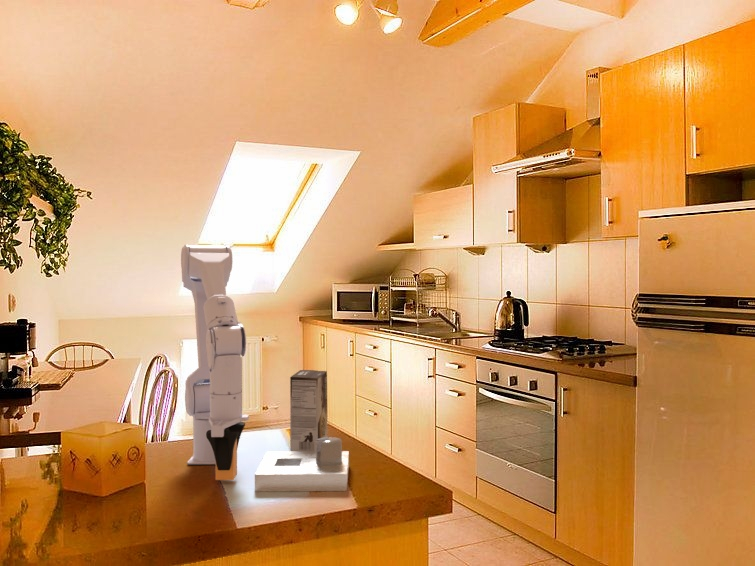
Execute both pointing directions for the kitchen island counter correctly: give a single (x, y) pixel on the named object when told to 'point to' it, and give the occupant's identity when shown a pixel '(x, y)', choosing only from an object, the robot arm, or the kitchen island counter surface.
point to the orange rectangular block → (233, 469)
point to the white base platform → (305, 469)
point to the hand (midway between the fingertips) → (226, 466)
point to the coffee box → (307, 409)
